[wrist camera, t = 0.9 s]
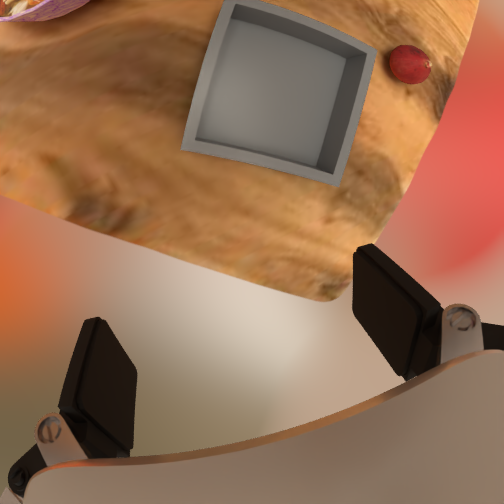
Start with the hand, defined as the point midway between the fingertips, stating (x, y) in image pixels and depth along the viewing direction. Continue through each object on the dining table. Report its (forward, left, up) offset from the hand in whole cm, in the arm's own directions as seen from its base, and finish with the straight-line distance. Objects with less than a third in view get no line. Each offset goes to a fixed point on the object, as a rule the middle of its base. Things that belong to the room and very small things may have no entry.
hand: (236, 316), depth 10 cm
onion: (-23, +22, -28) cm, 42 cm away
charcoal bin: (-12, +6, -28) cm, 31 cm away
